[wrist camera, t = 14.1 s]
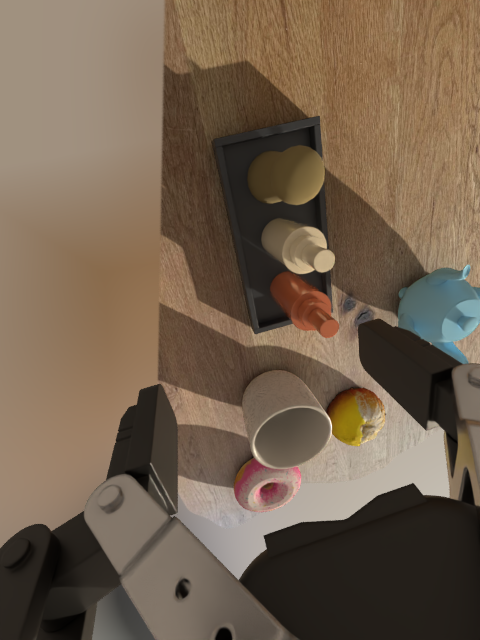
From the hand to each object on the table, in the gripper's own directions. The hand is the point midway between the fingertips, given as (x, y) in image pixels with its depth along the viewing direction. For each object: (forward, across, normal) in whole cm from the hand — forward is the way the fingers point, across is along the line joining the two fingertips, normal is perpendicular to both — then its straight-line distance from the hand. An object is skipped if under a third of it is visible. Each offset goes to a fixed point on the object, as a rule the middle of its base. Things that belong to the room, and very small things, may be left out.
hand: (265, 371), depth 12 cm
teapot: (+31, -33, +19) cm, 49 cm away
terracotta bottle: (+30, -10, +10) cm, 33 cm away
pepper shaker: (+30, -10, -5) cm, 33 cm away
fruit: (+32, -19, +38) cm, 53 cm away
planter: (+31, -4, +28) cm, 43 cm away
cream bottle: (+30, -10, +2) cm, 32 cm away
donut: (+32, +1, +48) cm, 58 cm away
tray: (+31, -10, +2) cm, 33 cm away
